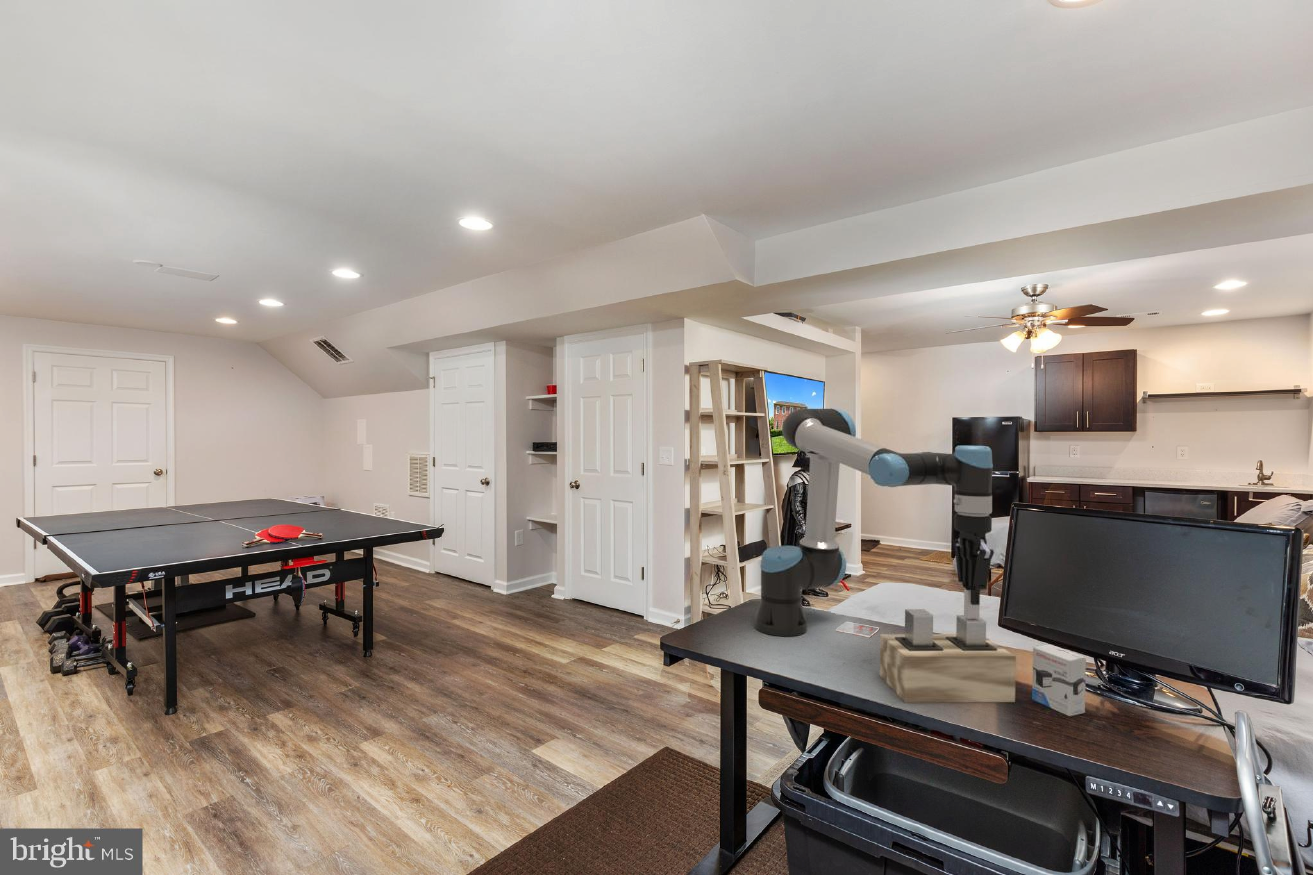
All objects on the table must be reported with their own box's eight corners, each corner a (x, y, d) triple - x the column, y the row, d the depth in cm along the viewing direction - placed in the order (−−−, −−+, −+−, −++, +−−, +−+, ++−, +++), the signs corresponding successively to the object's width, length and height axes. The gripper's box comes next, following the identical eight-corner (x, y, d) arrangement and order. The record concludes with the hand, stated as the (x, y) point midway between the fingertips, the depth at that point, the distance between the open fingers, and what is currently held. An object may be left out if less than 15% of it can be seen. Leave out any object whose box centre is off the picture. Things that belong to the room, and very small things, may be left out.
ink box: (1030, 699, 132) (1031, 646, 132) (1046, 696, 134) (1047, 643, 134) (1069, 717, 124) (1070, 660, 124) (1086, 713, 126) (1087, 657, 126)
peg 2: (955, 655, 140) (956, 615, 139) (974, 655, 140) (975, 615, 140) (966, 663, 135) (966, 621, 135) (985, 663, 135) (986, 621, 135)
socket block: (879, 675, 144) (880, 632, 144) (979, 675, 145) (979, 632, 144) (905, 702, 130) (905, 654, 130) (1014, 701, 131) (1015, 654, 131)
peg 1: (904, 649, 139) (905, 609, 139) (923, 649, 139) (924, 609, 139) (913, 657, 135) (913, 615, 135) (932, 657, 135) (933, 615, 135)
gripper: (942, 509, 143) (941, 608, 144) (972, 518, 130) (970, 627, 131) (973, 509, 143) (972, 608, 144) (1006, 518, 130) (1005, 626, 131)
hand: (971, 617), depth 137 cm, fingers closed
